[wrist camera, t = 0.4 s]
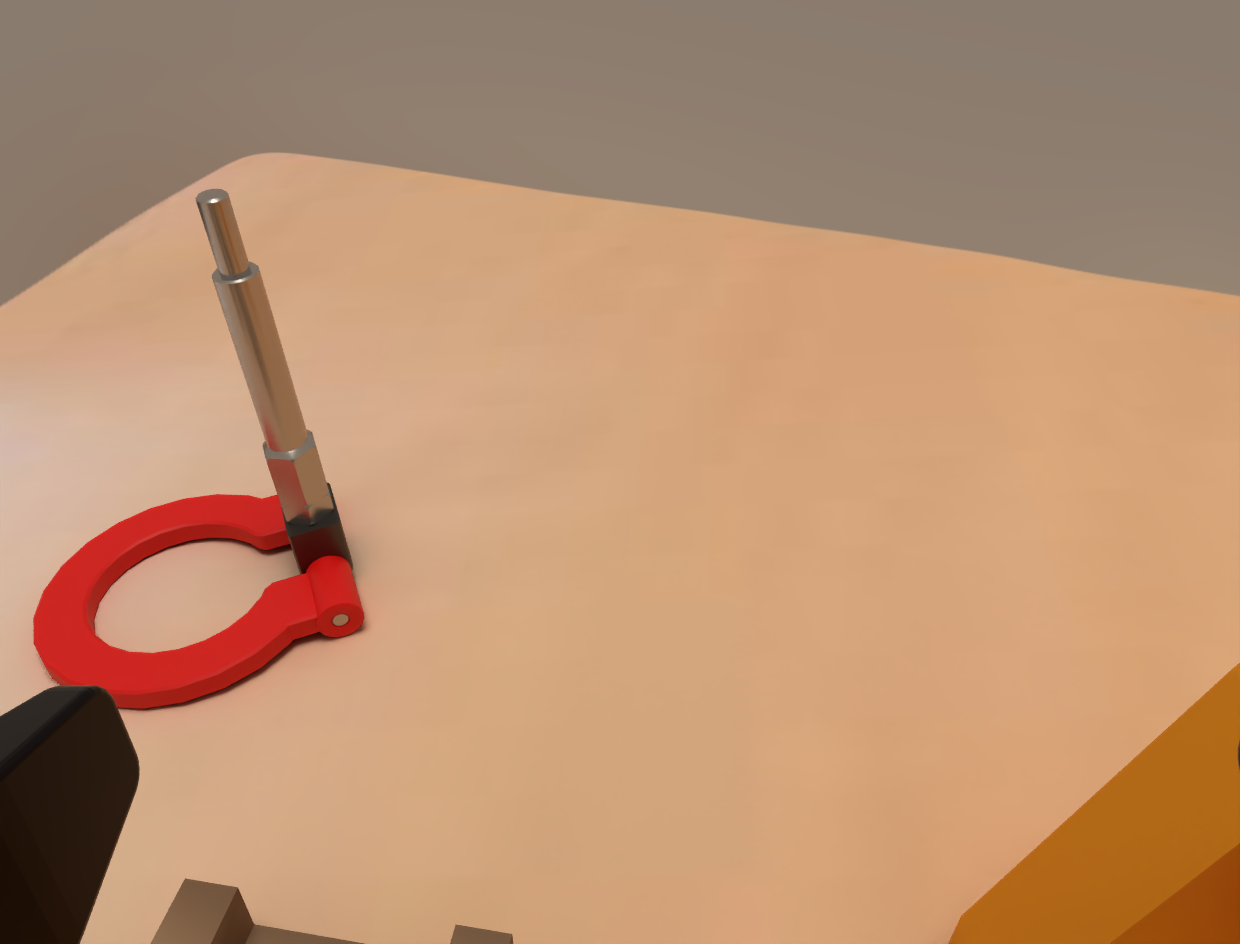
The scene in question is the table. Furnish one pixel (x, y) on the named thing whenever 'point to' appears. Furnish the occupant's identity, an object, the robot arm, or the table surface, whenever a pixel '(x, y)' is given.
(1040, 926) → the bracket
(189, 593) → the table surface
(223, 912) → the rail
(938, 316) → the table surface
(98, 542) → the tow hook
